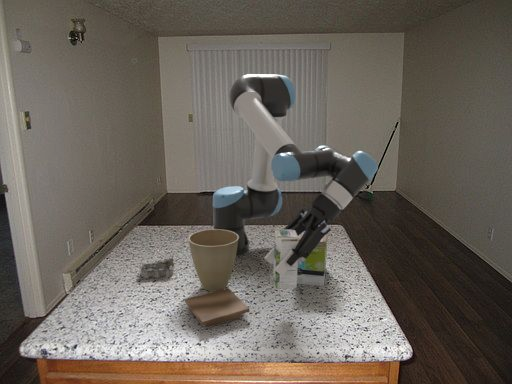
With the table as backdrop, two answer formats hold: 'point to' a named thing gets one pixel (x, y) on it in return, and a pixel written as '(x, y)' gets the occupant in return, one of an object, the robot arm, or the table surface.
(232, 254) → the plant pot
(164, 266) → the egg carton
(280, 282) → the syrup box
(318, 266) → the tea box
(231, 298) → the stand
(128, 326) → the table surface
